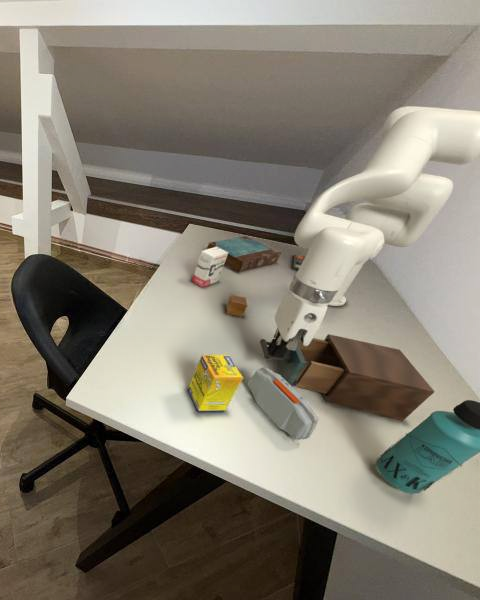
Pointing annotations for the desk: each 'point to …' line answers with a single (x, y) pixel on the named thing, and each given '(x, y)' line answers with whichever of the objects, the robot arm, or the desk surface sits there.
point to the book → (246, 253)
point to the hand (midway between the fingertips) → (273, 354)
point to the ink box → (209, 266)
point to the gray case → (283, 404)
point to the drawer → (309, 365)
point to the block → (236, 305)
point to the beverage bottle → (433, 448)
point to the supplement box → (214, 383)
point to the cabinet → (376, 380)
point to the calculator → (297, 261)
